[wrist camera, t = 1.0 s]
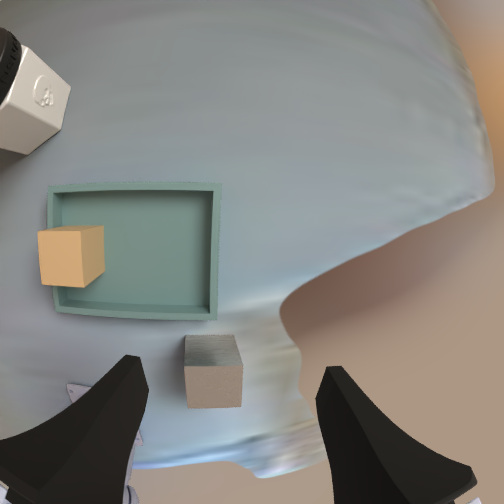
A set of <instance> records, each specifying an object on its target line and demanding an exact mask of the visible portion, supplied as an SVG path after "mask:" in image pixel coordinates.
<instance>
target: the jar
mask: <svg viewBox="0 0 504 504" xmlns="http://www.w3.org/2000/svg"><path fill="white" fill-rule="evenodd" d="M70 90H71V87H70V86H69V85H68V84H67V83H66V82H65V81H64V80H63V79H61V78H60V77H59V76H58V75H57V74H56V73H55V72H54V71H53V70H52V69H51V68H50V67H49V66H47V65H46V64H45V63H44V62H43V61H42V60H41V59H40V58H39V57H38V56H37V55H36V54H35V53H33V52H32V51H31V50H30V49H29V48H28V47H26V46H23V45H21V44H20V42H19V41H18V40H17V39H16V37H15V36H14V35H13V34H12V33H11V32H9V31H7V30H6V29H4V28H1V27H0V148H1V149H6V150H10V151H14V152H18V153H22V154H26V155H29V154H30V153H31V152H32V151H34V150H35V149H36V148H37V147H39V146H40V145H41V144H42V143H44V142H45V141H46V140H47V139H49V138H50V137H51V136H53V135H54V134H56V133H57V132H58V131H60V130H61V127H62V122H63V117H64V113H65V109H66V105H67V101H68V97H69V94H70Z"/></svg>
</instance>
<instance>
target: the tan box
mask: <svg viewBox="0 0 504 504" xmlns="http://www.w3.org/2000/svg"><path fill="white" fill-rule="evenodd" d="M38 249H39V262H40V272H41V281H42V284H43V285H55V286H68V287H83V288H84V287H86V286H87V285H88V284H89V283H91V282H92V281H93V280H94V279H96V278H97V277H98V276H100V275H101V274H102V273H103V272H105V259H104V225H77V226H61V227H56V228H51V229H47V230H42V231H38Z"/></svg>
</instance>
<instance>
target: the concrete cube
mask: <svg viewBox="0 0 504 504" xmlns="http://www.w3.org/2000/svg"><path fill="white" fill-rule="evenodd" d="M184 372H185V384H186V395H187V404H188V408H229V407H241V400H242V379H243V363H242V360H241V357H240V354H239V350H238V347H237V344H236V340H235V337H234V335H186V338H185V356H184Z"/></svg>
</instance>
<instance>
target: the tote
mask: <svg viewBox="0 0 504 504" xmlns="http://www.w3.org/2000/svg"><path fill="white" fill-rule="evenodd" d="M221 189H222V183H196V182H111V183H86V184H69V185H55V186H48V201H47V229H51V228H56V227H61V226H77V225H104V259H105V272H103V273H102V274H101V275H100V276H98V277H97V278H96V279H94V280H93V281H92V282H91V283H89V284H88V285H87V286H86V287H84V288H83V287H68V286H55V285H52V292H53V299H54V305H55V311H56V312H62V313H71V314H81V315H92V316H105V317H119V318H137V319H160V320H217V302H218V260H219V231H220V209H221Z"/></svg>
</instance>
